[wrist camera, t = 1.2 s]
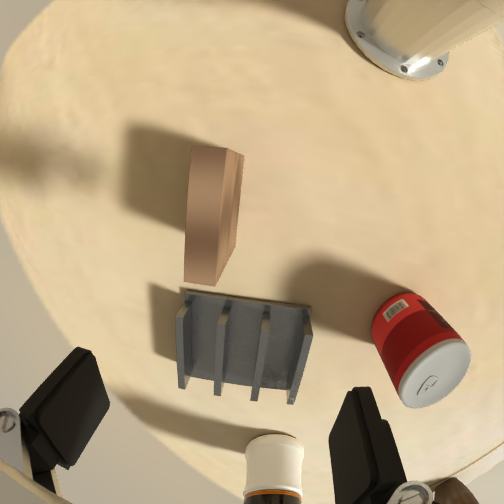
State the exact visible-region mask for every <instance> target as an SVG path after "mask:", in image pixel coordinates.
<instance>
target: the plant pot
mask: <svg viewBox="0 0 504 504" xmlns="http://www.w3.org/2000/svg"><path fill="white" fill-rule="evenodd" d="M434 501H435V502H437V503H440V504H479V503H478V501H477V500H476V498H475V497H474V495H473V494H472V493H471V492H470V490H469V489H468V488H467V487H466V486H465V485H464V484H463V483H462V482H460V481H459V480H458V479H457V478H452V479H449V480H447V481H445V482H444V483H442V484H441V485H439V486H438V487H437V488H436V489H435V497H434Z"/></svg>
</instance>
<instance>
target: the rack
mask: <svg viewBox="0 0 504 504" xmlns="http://www.w3.org/2000/svg"><path fill="white" fill-rule="evenodd" d="M310 313H311V306H306V305H297V304H288V303H279V302H271V301H263V300H255V299H247V298H240V297H233V296H225V295H218V294H212V293H205V292H198V291H192V290H187V291H186V293H185V302H184V304H183V305H182V307H181V308H180V310H179V312H178V313H177V315H176V316H175V329H176V354H177V372H178V387H179V388H180V389H186V386H187V384H188V381H189V379H190V376H191V377H196V378H201V379H207V380H212V381H214V395H216V396H221V393H222V389H223V385H224V383H231V384H238V385H245V386H252V391H251V399H250V401H257V400H258V395H259V389H260V387H261V388H271V389H281V390H287V404H292V405H294V402H295V399H296V395H297V392H298V389H299V385H300V382H301V379H302V375H303V372H304V368H305V364H306V361H307V357H308V353H309V350H310V346H311V342H312V338H313V332H312V327H311V322H310Z"/></svg>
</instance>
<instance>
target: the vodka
mask: <svg viewBox="0 0 504 504" xmlns="http://www.w3.org/2000/svg"><path fill="white" fill-rule="evenodd" d="M245 458H246V461H247V473H246V486H245V490H244V492H243V495H244V497H245V498H244V504H301V497H302V494H303V492H302V490H301V469H302V460H303V458H304V447H303V445H302V444H301V442H300V441H299V440H297V439H296V438H294V437H291V436H287V435H282V434H269V435H263V436H260V437H257V438H255V439H253V440H252V441H250V443H249V444H248V445H247V447H246V453H245Z"/></svg>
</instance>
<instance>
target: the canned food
mask: <svg viewBox="0 0 504 504" xmlns="http://www.w3.org/2000/svg"><path fill="white" fill-rule="evenodd" d="M372 339H373V342H374V344H375V346H376V348H377V350H378V353H379V355H380V357H381V359H382V361H383V363H384V365H385V367H386V370H387V372H388V374H389V376H390V378H391V381H392V383H393V385H394V387H395V389H396V391H397V394H398V396H399V398H400V400H401V401H402V403H403V404H404V405H405V406H407V407H409V408H423V407H427V406H430V405H432V404H434V403H436V402H438V401H440V400H441V399H443V398H444V397H446V396H447V395H448V394H449V393H450V392H452V391H453V390H454V389H455V388H456V387H457V386H458V384H459V383H460V382H461V380H462V379H463V378H464V376H465V374H466V372H467V370H468V368H469V365H470V361H471V352H470V349H469V347H468V346H467V344H466V343H465V341H464V340H463V339H462V338H461V337H460V336H459V334H458V333H457V332H456V331H455V330H454V329H453V328H452V327H451V326H450V325H449V324H448V323H447V322H446V321H445V319H444V318H443V317H442V316H441V315H440V314H439V313H438V312H437V311H436V310H435V309H434V308H433V307H432V306H431V305H430V304H429V303H428V302H427V301H426V300H425V299H424V298H423V297H421V296H419V295H417V294H413V293H401V294H398V295H396V296H394V297H392V298H390V299H389V300H387V301H386V302H385V303H384V304H383V305H382V306H381V307H380V309H379V310H378V311H377V313H376V315H375V317H374V319H373V323H372Z"/></svg>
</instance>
